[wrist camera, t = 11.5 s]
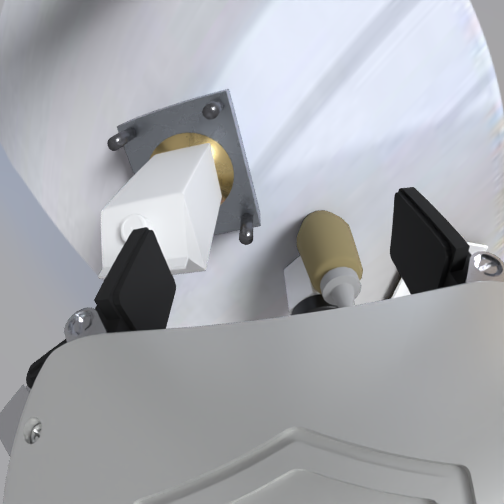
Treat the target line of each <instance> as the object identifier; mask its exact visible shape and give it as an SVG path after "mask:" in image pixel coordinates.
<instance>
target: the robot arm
mask: <svg viewBox="0 0 504 504" xmlns="http://www.w3.org/2000/svg"><path fill="white" fill-rule="evenodd" d="M469 247H470V246H469V245H468V243H467V242H466V241H465V240H464V239H463V238H462V237H461V235H460V234H459V233H458V232H457V231H456V230H455V229H454V228H453V227H452V225H451V224H450V223H449V222H448V221H447V220H446V219H445V218H444V217H443V216H442V215H441V214H440V213H439V212H438V211H437V210H436V208H435V207H434V206H433V205H432V204H431V203H430V202H429V201H428V200H427V199H426V198H425V197H424V196H423V195H421V194H420V193H419V192H418V191H417V190H416V189H415V188H414V187H410V188H400V189H399V191H398V192H397V193H395V198H394V213H393V226H392V236H391V246H390V256H391V259H392V261H393V263H394V264H395V266H396V268H397V270H398V271H399V273H400V275H401V277H402V279H403V281H404V282H405V284H406V286H407V288H408V290H409V292H410V294H411V295H406V296H402V297H397V298H392V299H387V300H381V301H376V302H371V303H365V304H360V305H354V306H349V307H343V308H337V309H331V310H325V311H318V312H312V313H305V314H298V315H291V316H284V317H277V318H269V319H261V320H253V321H245V322H236V323H226V324H216V325H206V326H195V327H183V328H171V329H166V326H167V322H168V318H169V314H170V310H171V306H172V302H173V299H174V295H175V291H176V284H175V281H174V278H173V276H172V274H171V272H170V269H169V267H168V265H167V262H166V260H165V258H164V255H163V253H162V250H161V248H160V246H159V243H158V241H157V238H156V236H155V233H154V231H153V230H149V229H148V228H147V227H144V228H139V229H134V230H133V231H132V232H131V234H130V235H129V237H128V239H127V240H126V242H125V244H124V246H123V247H122V249H121V251H120V253H119V254H118V256H117V258H116V260H115V262H114V263H113V265H112V267H111V269H110V271H109V272H108V274H107V276H106V278H105V280H104V282H103V284H102V286H101V288H100V290H99V292H98V294H97V295H96V298H95V299H94V301H95V303H96V304H97V306H96V308H95V309H93V308H84V309H81V310H79V311H77V312H76V313H74V314H73V315H72V316H71V317H70V318H69V320H68V321H67V323H66V325H65V328H64V333H65V336H66V339H65V340H64V341H62V342H61V343H60V344H58V345H57V346H56V347H54V348H53V349H52V350H50V351H49V352H48V353H46V354H45V355H44V356H42V357H41V358H40V359H38V360H37V361H36V362H34V363H33V364H32V365H31V366H30V368H29V371H28V373H27V377H26V381H27V386H24V385H22V386H21V388H20V389H19V390H18V391H17V392H16V394H15V395H14V396H13V397H12V399H11V400H10V401H9V402H8V404H7V405H6V406H5V407H4V409H3V410H2V412H1V413H0V439H1V441H2V443H3V445H4V447H5V449H6V451H7V452H8V454H9V456H10V460H9V465H8V470H7V476H6V483H5V489H4V498H3V504H504V263H503V261H502V260H501V259H500V258H498V257H497V256H496V255H494V254H492V253H489V252H485V251H478V252H475V253H474V254H472V255H471V253H470V252H469Z"/></svg>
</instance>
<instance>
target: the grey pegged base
mask: <svg viewBox="0 0 504 504" xmlns="http://www.w3.org/2000/svg"><path fill="white" fill-rule="evenodd" d="M117 128H118V131H119V133H118V134H116V135H114V136H113V137H111V138H110V139H109V140H108V147H109V149H110V150H112V151H116V150H118V149H119V148H121V147H122V146H124V148H125V151H126V154H127V156H128V159H129V162H130V164H131V167H132V170H133V172H134V175H135V174H136V173H137V172H138V171H139V170H140V169H141V168H142V167H143V166H144V165H145V164H146V163H147V162H148V161H149V160H150V159H151V158H152V157H153V156H154V155H156V154H160V153H164V152H168V151H172V150H177V149H181V148H186V147H191V146H195V145H200V144H206V143H210V145H211V149H212V154H213V158H214V163H215V168H216V172H217V177H218V181H219V186H220V190H221V194H222V198H221V203H220V207H219V212H218V216H217V221H216V225H215V230H214V234H213V235H217V234H222V233H227V232H232V231H237V230H240V234H239V240H240V242H241V243H242V244H245V245H248V244H250V243H252V241H253V227H258V226H261V224H260V210H259V206H258V202H257V198H256V194H255V190H254V186H253V182H252V178H251V174H250V170H249V166H248V162H247V158H246V154H245V150H244V146H243V142H242V138H241V134H240V130H239V126H238V122H237V118H236V114H235V110H234V107H233V103H232V99H231V95H230V91H229V89H227V90H223V91H219V92H215V93H211V94H207V95H204V96H200V97H197V98H193V99H190V100H187V101H183V102H180V103H177V104H174V105H171V106H168V107H165V108H162V109H159V110H156V111H153V112H150V113H148V114H145V115H142V116H139V117H137V118H134V119H132V120H129V121H127V122H125V123H123V124H121V125H119V126H117Z"/></svg>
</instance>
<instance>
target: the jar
mask: <svg viewBox="0 0 504 504" xmlns="http://www.w3.org/2000/svg"><path fill="white" fill-rule="evenodd" d="M284 277H285V284H286V292H287V300H288V309H289V312H290V315H298V314H305V313H312V312H318V311H325V310H331V309H337V308H339V307H338V306H337V305H332V304H329V303H327V302H326V301H325V300H324V298H323V296H322V294H320V293H319V292H317V291H316V290H315V289H314V287H313V285H312V284H311V281H310V279H309V276H308V274H307V271H306V268H305V266H304V263H303V261H302V258H301V256H299V257H298V258H297V259H296V260H294V261H293V262H292V263H291V264H290V265H289V266H287V267H286V268H285V269H284Z"/></svg>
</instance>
